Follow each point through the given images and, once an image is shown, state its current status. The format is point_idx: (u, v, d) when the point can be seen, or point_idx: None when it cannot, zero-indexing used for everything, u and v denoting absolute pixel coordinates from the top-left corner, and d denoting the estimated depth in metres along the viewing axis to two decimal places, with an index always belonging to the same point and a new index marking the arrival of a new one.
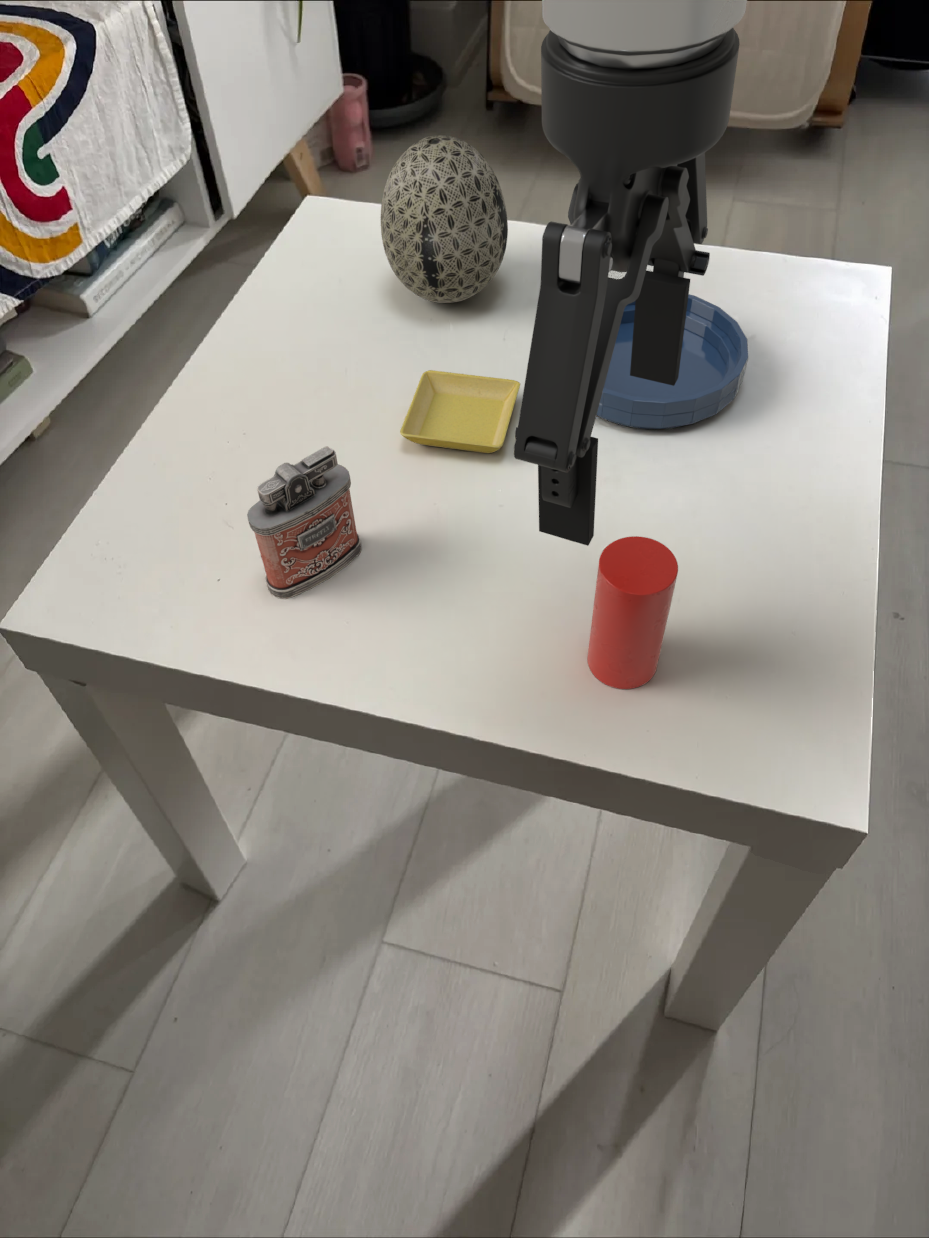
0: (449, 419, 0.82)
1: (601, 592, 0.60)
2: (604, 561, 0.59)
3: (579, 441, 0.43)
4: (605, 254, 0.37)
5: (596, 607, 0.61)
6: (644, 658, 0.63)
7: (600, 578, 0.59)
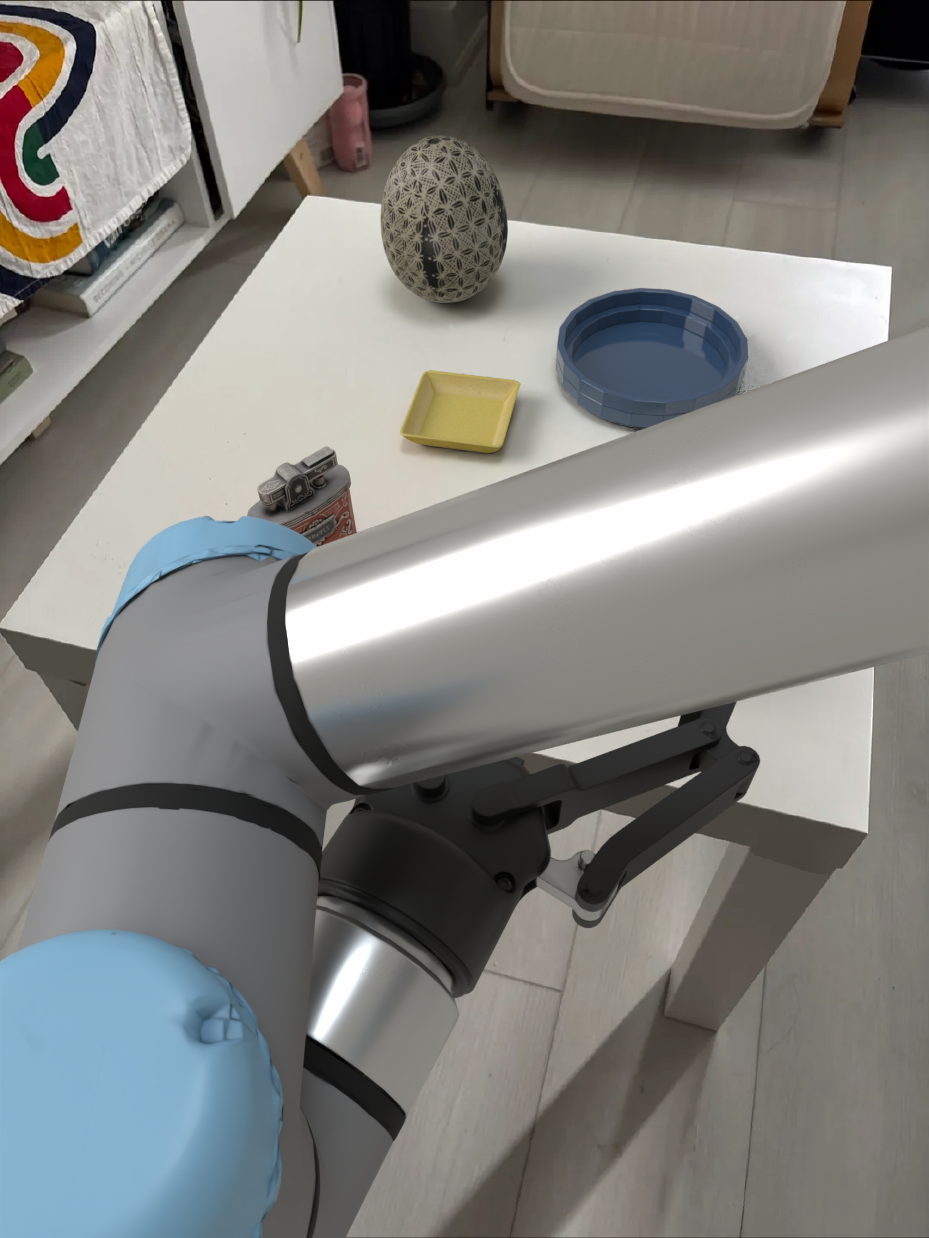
0: (449, 419, 0.82)
1: None
2: None
3: (712, 742, 0.40)
4: (600, 888, 0.36)
5: None
6: None
7: None
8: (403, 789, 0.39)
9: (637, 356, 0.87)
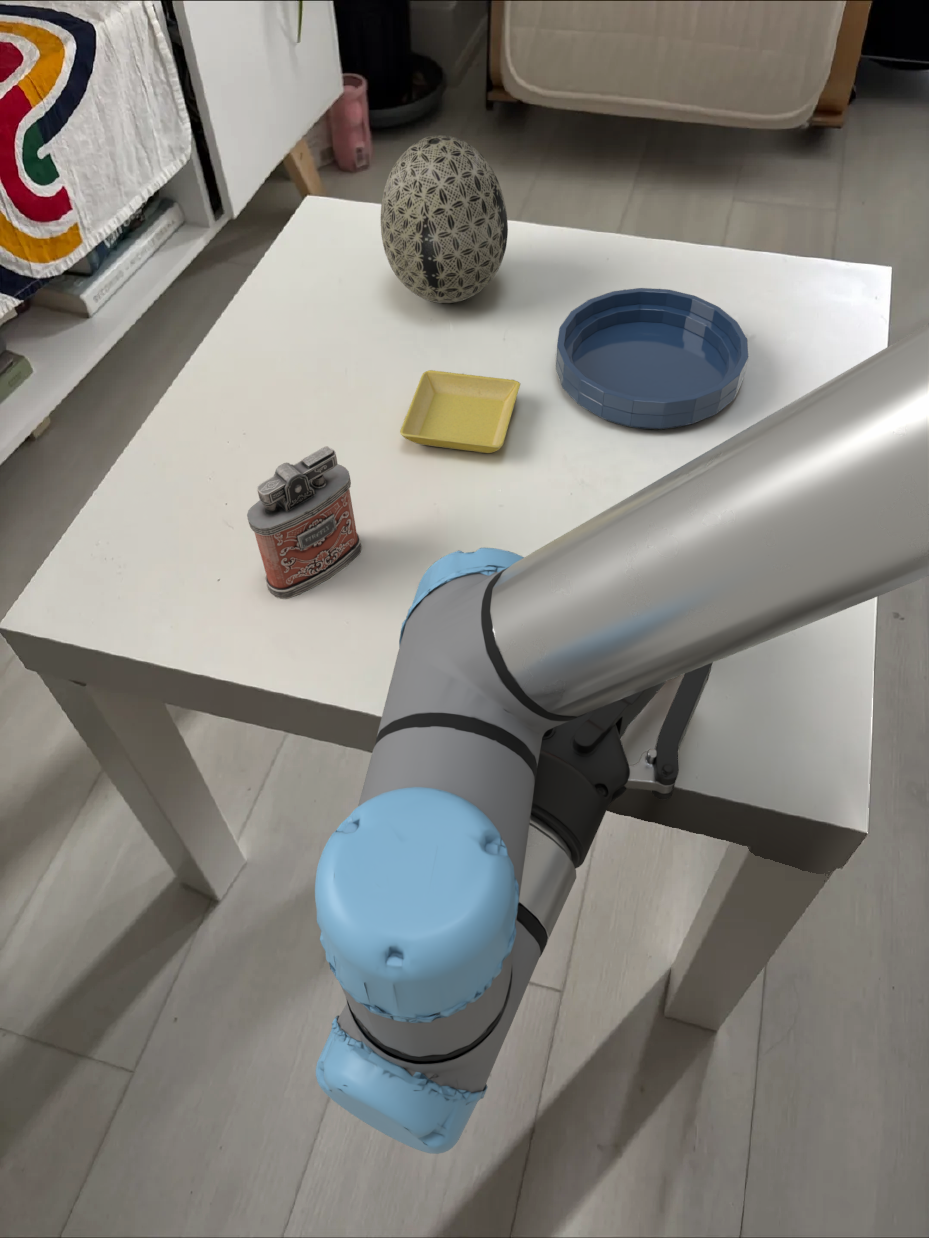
0: (449, 419, 0.82)
1: None
2: None
3: None
4: (672, 767, 0.53)
5: None
6: None
7: None
8: None
9: (637, 356, 0.87)
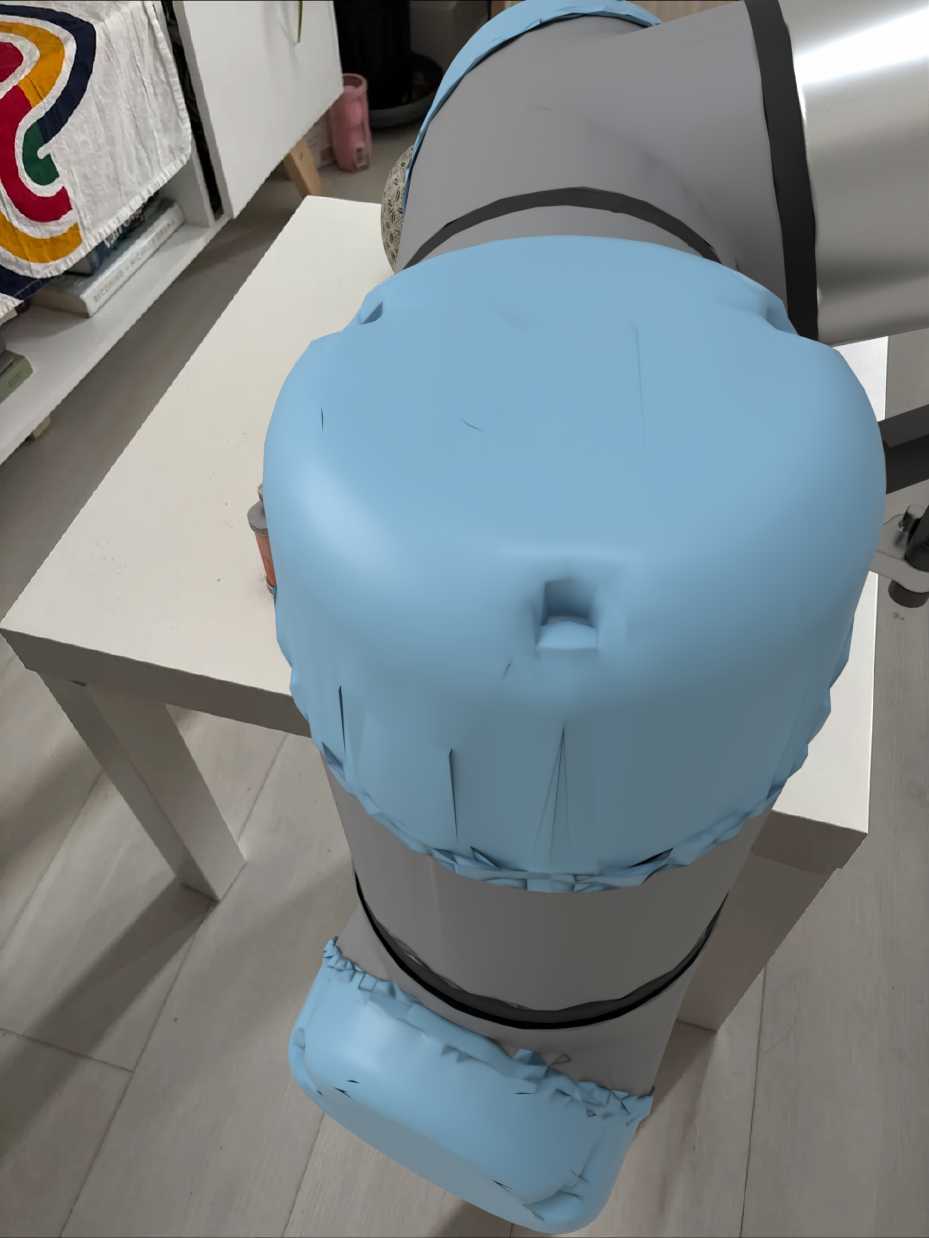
0: None
1: None
2: None
3: None
4: None
5: None
6: None
7: None
8: None
9: None
